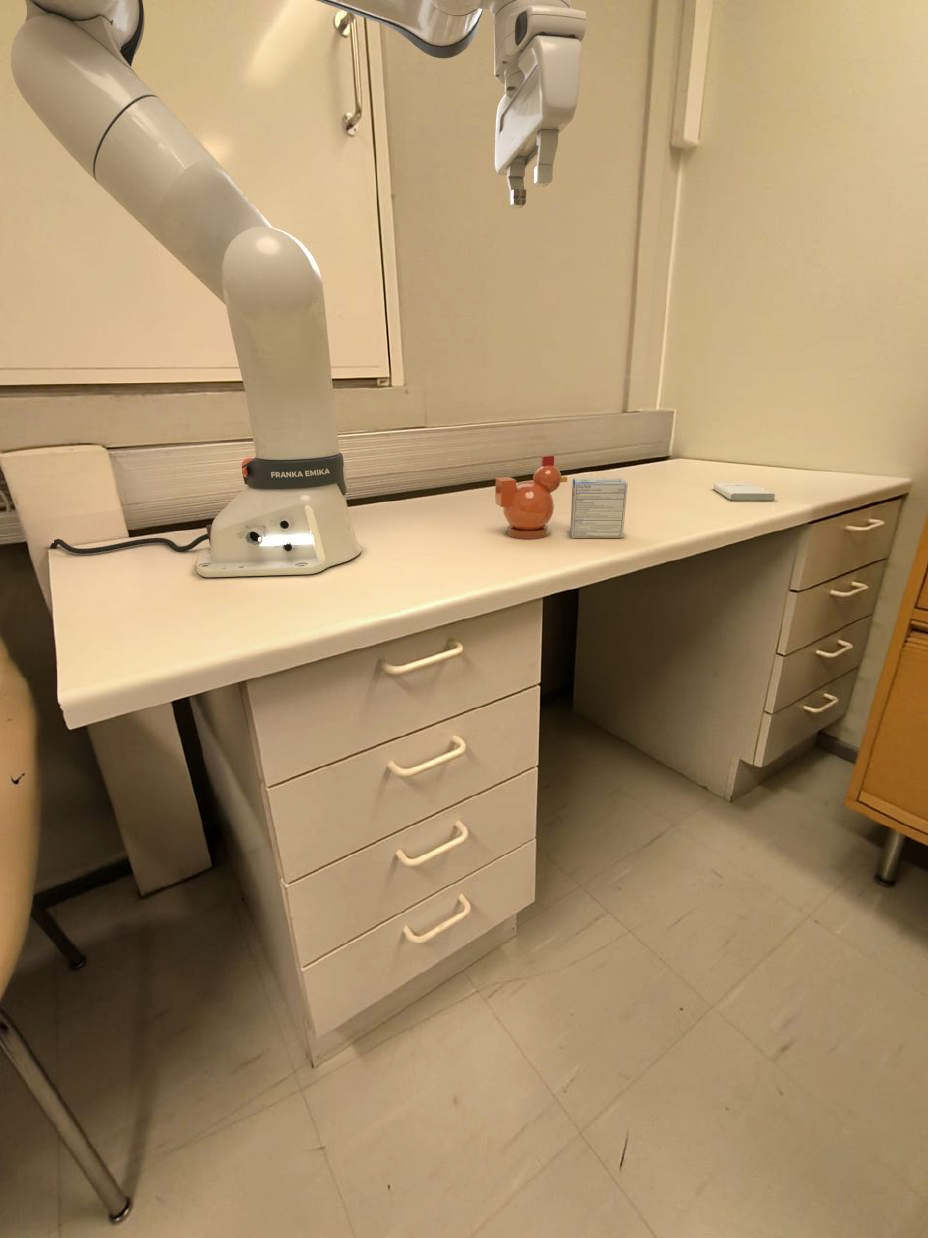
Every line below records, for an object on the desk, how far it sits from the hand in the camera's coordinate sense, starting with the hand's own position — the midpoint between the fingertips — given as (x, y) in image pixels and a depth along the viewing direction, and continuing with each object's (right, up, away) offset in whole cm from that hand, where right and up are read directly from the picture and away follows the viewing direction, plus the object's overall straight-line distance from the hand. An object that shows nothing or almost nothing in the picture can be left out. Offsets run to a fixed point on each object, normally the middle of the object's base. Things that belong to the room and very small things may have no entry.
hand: (529, 196), depth 71 cm
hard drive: (+49, -28, +45) cm, 72 cm away
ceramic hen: (+2, -40, +20) cm, 44 cm away
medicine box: (+13, -40, +18) cm, 46 cm away
